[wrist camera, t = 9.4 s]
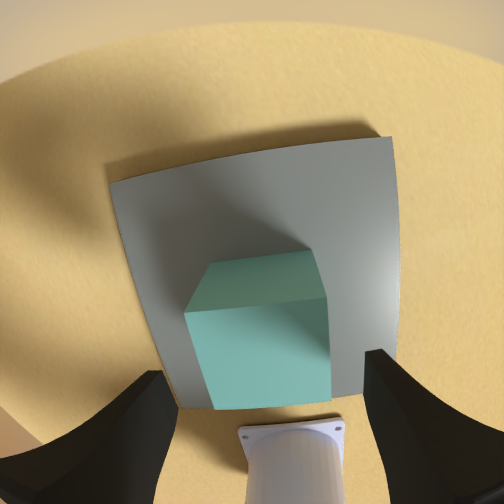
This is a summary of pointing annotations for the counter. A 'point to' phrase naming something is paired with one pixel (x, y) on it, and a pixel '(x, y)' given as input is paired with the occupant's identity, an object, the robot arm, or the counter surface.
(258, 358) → the cube
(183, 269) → the cutting board
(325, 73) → the counter surface
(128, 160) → the counter surface
